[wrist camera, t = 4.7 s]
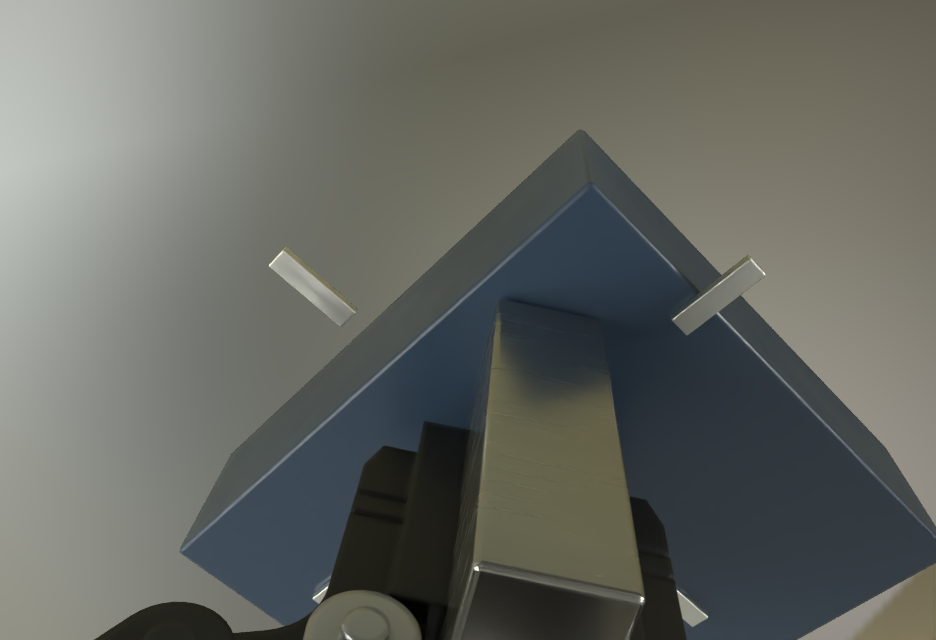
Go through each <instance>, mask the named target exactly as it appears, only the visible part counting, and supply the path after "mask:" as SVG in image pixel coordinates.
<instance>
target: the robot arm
mask: <svg viewBox="0 0 936 640" xmlns="http://www.w3.org/2000/svg"><path fill="white" fill-rule="evenodd" d="M468 433H469V430H468V429H464V428H459V427H454V426H449V425H444V424H440V423H435V422H430V421H425V420H424V423H423V428H422V433H421V437H420V442H419V447H418V451H417V452H413V451H409V450H404V449H399V448H394V447H389V446H383V447H382V448H381V449H380V450H379V451H377V452H376V453H375V454H374V455H373V456H372V457H371V458H370V459H369V460H368V461H367V462H366V463H365V464H364V467H363V470H362V473H361V477H360V480H359V484H358V487H357V491H356V494H355V497H354V501H353V504H352V508H351V512H350V514H349V518H348V521H347V525H346V528H345V531H344V535H343V538H342V542H341V545H340V548H339V552H338V555H337V559H336V562H335V565H334V569H333V572H332V576H331V579H330V582H329V586H328V589H327V591H326V594H325V596H324V598H323V599H322V601H321V602H320V604H319V605H318V606H317V607H316V608H315V609H314V610H313V611H312V612H311V613H309V614H308V615H307V616H305V617H304V618H302V619H300V620H299V621H297V622H295V623H292V624H290V625H288V626H284V627H281V628H277V629H271V630H264V631H253V632H241V633H232V630H231V628H230V627H229V625H228V624H227V622H226V621H225V620H224V619H223V618H222V617H221V616H220V615H219V614H217V613H216V612H214V611H213V610H211V609H209V608H206V607H204V606H201V605H198V604H194V603H187V602H170V603H162V604H158V605H154V606H150V607H148V608H145V609H143V610H140V611H138V612H137V613H135V614H133V615H131V616H130V617H128V618H127V619H125V620H124V621H122V622H121V623H119V624H118V625H116V626H115V627H113V628H111V629H110V630H108V631H107V632H105V633H104V634H102V635H101V636H99V637H98V638H96V639H95V640H438V637H439V634H440V630H441V626H442V622H443V618H444V615H445V611H446V607H447V601H448V593H449V585H450V577H451V569H452V561H453V553H454V545H455V537H456V529H457V521H458V513H459V505H460V497H461V489H462V481H463V473H464V465H465V457H466V449H467V441H468ZM630 503H631V509H632V515H633V522H634V528H635V534H636V541H637V547H638V553H639V560H640V566H641V572H642V579H643V585H644V592H645V598H646V602H645V604H644V607H643V609H642V611H641V614H640V616H639V619H638V621H637V623H636V626H635V628H634V630H633V633H632V635H631V638H630V640H687V639H686V634H685V629H684V624H683V619H682V614H681V609H680V604H679V599H678V594H677V589H676V584H675V580H673V575H674V574H673V569H672V564H671V559H670V557H669V549H668V543H667V538H666V533H665V528H664V525H663V524H662V522H661V521H660V519H659V518H658V516H657V515H656V513H655V512H654V510H653V509H652V508H651V506H650V505H649V503H648V502H647V500H645V499H640V498H635V497H631V496H630Z"/></svg>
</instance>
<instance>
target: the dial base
mask: <svg viewBox="0 0 936 640" xmlns="http://www.w3.org/2000/svg"><path fill="white" fill-rule="evenodd" d="M269 267H270V268H272V269H273V270H274V271H275V272H276V273H278V274H279V275H280V276H281V277H282V278H283V279H285V280H286V281H287V282H288V283H289V284H290V285H292V286H293V287H294V288H295V289H296V290H297V291H299V292H300V293H301V294H302V295H303V296H304V297H306V298H307V299H308V300H309V301H310V302H312V303H313V304H314V305H315V306H316V307H317V308H319V309H320V310H321V311H322V312H323V313H324V314H326V315H327V316H328V317H329V318H330V319H331V320H333V321H334V322H335V323H336V324H337V325H338V326H340V327H341V326H343V324H345V323H346V322H347V321H348V320H349V319H350V318H351V317H352V316H353V315H354V314H355V313H356V310H357V308H356V307H355V306H354V305H353V304H352V303H350V302H349V301H348V300H347V299H346V298H345V297H343V296H342V295H341V294H340V293H339V292H338V291H336V290H335V289H334V288H333V287H332V286H331V285H330V284H328V283H327V282H326V281H325V280H324V279H323V278H322V277H320V276H319V275H318V274H317V273H316V272H315V271H313V270H312V269H311V268H310V267H309V266H308V265H306V264H305V263H304V262H303V261H302V260H301V259H300V258H298V257H297V256H296V255H295V254H294V253H293V252H292V251H290V250H289V249H288V248H287V247H285V248H284V249H283V250H282V251H281V252H280V253H279V254H278V255H277V256H276V257H275V258H274V259H273V260H272V262H271V263H270V264H269ZM765 276H766V275H765V273H764V271H763V270H762V269H761V268H760V267H759V266H758V265H757V263H756V262H755V261H754V260H753V259H752V258H751V257H750V256H749V255H748V256H746V257H745V258H743V259H742V260H741V261H740V262H738V263H737V264H736V265H735V266H733V267H732V268H731V269H729V270H728V271H727V272H726V273H724V274H723V275H721V274H720V273H719V272H718V271H717V270H716V269H715V268H714V267H713V266H712V265H711V264H710V263H709V262H708V261H707V260H706V258H705V257H704V256H703V255H702V254H701V253H700V252H699V251H698V250H697V249H696V248H695V247H694V246H693V245H692V244H691V243H690V242H689V241H688V240H687V239H686V238H685V236H684V235H683V234H682V233H681V232H680V231H679V230H678V229H677V228H676V227H675V226H674V225H673V224H672V223H671V222H670V221H669V220H668V219H667V218H666V216H665V215H664V214H663V213H662V212H661V211H660V210H659V209H658V208H657V207H656V206H655V205H654V204H653V203H652V202H651V201H650V200H649V199H648V197H646V195H645V194H644V193H643V192H642V191H641V190H640V189H639V188H638V187H637V186H636V185H635V184H634V183H633V182H632V181H631V180H630V179H629V178H628V177H627V175H626V174H625V173H624V172H623V171H622V170H621V169H620V168H619V167H618V166H617V165H616V164H615V163H614V162H613V161H612V160H611V159H610V158H609V156H608V155H607V154H606V153H605V152H604V151H603V150H602V149H601V148H600V147H599V146H598V145H597V144H596V143H595V142H594V141H593V140H592V139H591V138H590V137H589V135H588V134H587V133H586V132H585V131H583V130H578V131H577V132H576V133H575V134H573V135H572V136H571V137H570V138H569V139H568V140H567V141H566V142H565V143H564V144H563V145H562V146H561V147H560V148H558V149H557V151H555V152H554V153H553V154H552V155H551V156H550V157H549V158H548V159H547V160H546V161H545V162H544V163H542V164H541V165H540V166H539V167H538V168H537V169H536V170H535V171H534V172H533V173H532V174H531V175H530V176H528V177H527V178H526V179H525V180H524V181H523V182H522V183H521V184H520V185H519V186H518V187H517V188H516V189H515V190H513V191H512V192H511V193H510V194H509V195H508V196H507V197H506V198H505V199H504V200H503V201H502V202H501V203H500V204H498V205H497V206H496V207H495V208H494V209H493V210H492V211H491V212H490V213H489V214H488V215H487V216H486V217H485V218H483V219H482V221H480V222H479V223H478V224H477V225H476V226H475V227H474V228H473V229H472V230H471V231H470V232H468V233H467V234H466V235H465V236H464V237H463V238H462V239H461V240H460V241H459V242H458V243H457V244H456V245H455V246H454V247H452V248H451V249H450V250H449V251H448V252H447V253H446V254H445V255H444V256H443V257H442V258H441V259H440V260H438V262H436V263H435V264H434V265H433V266H432V267H431V268H430V269H429V270H428V271H427V272H426V273H425V274H423V275H422V276H421V277H420V278H419V279H418V280H417V281H416V282H415V283H414V284H413V285H412V286H411V287H410V288H409V289H408V290H406V291H405V292H404V293H403V294H402V295H401V296H400V297H399V298H398V299H397V300H396V301H395V302H394V303H393V304H391V305H390V306H389V307H388V308H387V309H386V310H385V311H384V312H383V313H382V314H381V315H380V316H379V317H378V318H376V319H375V320H374V321H373V322H372V323H371V324H370V325H369V326H368V327H367V328H366V329H365V330H364V331H363V332H361V333H360V334H359V335H358V336H357V337H356V338H355V339H354V340H353V341H352V342H351V343H350V344H349V345H347V346H346V347H345V348H344V349H343V350H342V351H341V352H340V353H339V354H338V355H337V356H336V357H335V358H334V359H332V361H330V362H329V363H328V364H327V365H326V366H325V367H324V368H323V369H322V370H321V371H320V372H319V373H318V374H316V375H315V376H314V377H313V378H312V379H311V380H310V381H309V382H308V383H307V384H306V385H305V386H304V387H303V388H301V389H300V390H299V391H298V392H297V393H296V394H295V395H294V396H293V397H292V398H291V399H290V400H289V401H288V402H287V403H286V404H284V405H283V406H282V407H281V408H280V409H279V410H278V411H277V412H276V413H275V414H274V415H273V416H271V417H270V418H269V419H268V420H267V421H266V422H265V423H264V424H263V425H262V426H261V427H260V428H259V429H257V430H256V431H255V432H254V433H253V434H252V435H251V436H250V437H249V438H248V439H247V440H246V441H245V442H244V443H243V444H241V445H240V446H239V447H238V448H237V449H236V450H235V451H234V452H233V453H232V454H231V456H230V457H229V459H228V461H227V463H226V465H225V467H224V468H223V470H222V472H221V474H220V476H219V478H218V479H217V482H216V483H215V485H214V487H213V489H212V491H211V492H210V494H209V496H208V498H207V500H206V502H205V503H204V505H203V507H202V509H201V511H200V513H199V514H198V516H197V518H196V520H195V522H194V524H193V526H192V527H191V529H190V531H189V533H188V535H187V537H186V538H185V540H184V542H183V544H182V546H181V548H180V553H181V554H183V555H184V556H185V557H187V558H188V559H190V560H191V561H192V562H194V563H195V564H197V565H198V566H200V567H201V568H203V569H204V570H205V571H207V572H208V573H209V574H211V575H212V576H214V577H215V578H217V579H218V580H220V581H221V582H222V583H224V584H225V585H227V586H228V587H229V588H231V589H232V590H234V591H235V592H236V593H238V594H239V595H241V596H242V597H244V598H245V599H247V600H248V601H250V602H251V603H252V604H254V605H255V606H257V607H258V608H259V609H261V610H262V611H264V612H265V613H266V614H268V615H269V616H271V617H272V618H273V619H275V620H276V621H278V622H279V623H281V624H282V625H284V626H288V625H290V624H292V623H295V622H297V621H299V620H300V619H302V618H304V617H305V616H307V615H308V614H309V613H311V612H312V611H313V610H314V609H315V608H316V607H317V606H318V605H319V604H320V602H321V601H322V599H323V598H324V596H325V594H326V591H327V589H328V586H329V582H330V579H331V576H332V572H333V569H334V565H335V562H336V559H337V555H338V552H339V548H340V545H341V542H342V538H343V535H344V531H345V528H346V525H347V521H348V518H349V514H350V512H351V508H352V504H353V501H354V497H355V494H356V491H357V487H358V484H359V480H360V477H361V473H362V470H363V467H364V464H365V463H366V462H367V461H368V460H369V459H370V458H371V457H372V456H373V455H374V454H375V453H376V452H377V451H379V450H380V449H381V448H382V447H383V446H389V447H394V448H399V449H404V450H409V451H413V452H417V451H418V447H419V442H420V437H421V433H422V428H423V423H424V420H425V421H430V422H435V423H440V424H444V425H449V426H454V427H459V428H464V429H466V425H467V421H468V417H469V413H470V408H471V404H472V400H473V396H474V392H475V388H476V384H477V380H478V376H479V372H480V368H481V363H482V359H483V355H484V351H485V347H486V343H487V339H488V335H489V331H490V327H491V323H492V319H493V314H494V310H495V306H496V303H497V302H498V301H499V300H500V299H505V300H510V301H514V302H519V303H524V304H528V305H533V306H538V307H542V308H547V309H552V310H556V311H561V312H566V313H570V314H575V315H580V316H584V317H589V318H593V319H598V320H600V321H601V322H602V325H603V332H604V338H605V344H606V351H607V357H608V363H609V370H610V376H611V382H612V389H613V395H614V401H615V408H616V414H617V420H618V427H619V433H620V439H621V446H622V452H623V458H624V465H625V471H626V477H627V484H628V490H629V496H631V497H635V498H640V499H645V500H647V502H648V503H649V505H650V506H651V508H652V509H653V510H654V512H655V513H656V515H657V516H658V518H659V519H660V521H661V522H662V524H663V525H664V528H665V533H666V538H667V543H668V549H669V557H670V559H671V564H672V569H673V574H674V575H673V580H675V584H676V589H677V594H678V599H679V604H680V609H681V614H682V619H683V624H684V629H685V634H686V639H687V640H797V639H799V638H801V637H803V636H804V635H806V634H808V633H810V632H812V631H813V630H815V629H817V628H819V627H821V626H822V625H824V624H826V623H828V622H830V621H832V620H833V619H835V618H837V617H839V616H841V615H842V614H844V613H846V612H848V611H850V610H851V609H853V608H855V607H857V606H859V605H860V604H862V603H864V602H866V601H868V600H869V599H871V598H873V597H875V596H877V595H878V594H880V593H882V592H884V591H886V590H887V589H889V588H891V587H893V586H895V585H897V584H898V583H900V582H902V581H904V580H906V579H907V578H909V577H911V576H913V575H915V574H916V573H918V572H920V571H922V570H924V569H925V568H927V567H929V566H931V565H933V564H934V563H936V526H935V525H934V523H933V522H932V520H931V518H930V517H929V515H928V514H927V512H926V510H925V509H924V507H923V506H922V504H921V503H920V501H919V500H918V498H917V496H916V495H915V493H914V492H913V490H912V488H911V487H910V485H909V484H908V482H907V481H906V479H905V477H904V476H903V474H902V473H901V471H900V470H899V468H898V467H897V465H896V463H895V462H894V460H893V459H892V457H891V456H890V454H889V452H888V451H887V449H886V448H885V447H884V446H883V445H882V444H881V443H880V441H879V440H878V439H877V438H876V437H875V436H874V435H873V434H872V433H871V432H870V431H869V430H868V429H867V428H866V427H865V426H864V425H863V423H861V422H860V420H859V419H858V418H857V417H856V416H855V415H854V414H853V413H852V412H851V411H850V410H849V409H848V408H847V407H846V406H845V405H844V404H843V402H842V401H841V400H840V399H839V398H838V397H837V396H836V395H835V394H834V393H833V392H832V391H831V390H830V389H829V388H828V387H827V386H826V385H825V384H824V382H822V380H821V379H820V378H819V377H818V376H817V375H816V374H815V373H814V372H813V371H812V370H811V369H810V368H809V367H808V366H807V365H806V364H805V363H804V361H803V360H802V359H801V358H800V357H799V356H798V355H797V354H796V353H795V352H794V351H793V350H792V349H791V348H790V347H789V346H788V345H787V344H786V343H785V342H784V341H783V339H782V338H781V337H779V335H778V334H777V333H776V332H775V331H774V330H773V329H772V328H771V327H770V326H769V325H768V324H767V323H766V322H765V320H763V318H762V317H761V316H760V315H759V314H758V313H757V312H756V311H755V310H754V309H753V308H752V307H751V306H750V305H749V304H748V303H747V302H746V301H745V299H744V298H743V297H742V296H741V294H742V293H744V292H745V291H746V290H748V289H749V288H750V287H752V286H753V285H754V284H756V283H757V282H758V281H760V280H761V279H762V278H763V277H765Z"/></svg>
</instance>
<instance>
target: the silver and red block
mask: <svg viewBox="0 0 936 640" xmlns="http://www.w3.org/2000/svg"><path fill="white" fill-rule="evenodd" d="M466 429H468V430H469V433H468V441H467V449H466V457H465V465H464V473H463V481H462V489H461V497H460V505H459V513H458V521H457V529H456V537H455V545H454V553H453V561H452V569H451V577H450V585H449V593H448V601H447V607H446V611H445V615H444V618H443V622H442V626H441V630H440V634H439V637H438V640H630V638H631V635H632V633H633V630H634V628H635V626H636V623H637V621H638V619H639V616H640V614H641V611H642V609H643V607H644V604H645V602H646V598H645V592H644V585H643V579H642V572H641V566H640V560H639V553H638V547H637V541H636V534H635V528H634V522H633V515H632V509H631V503H630V496H629V490H628V484H627V477H626V471H625V465H624V458H623V452H622V446H621V439H620V433H619V427H618V420H617V414H616V408H615V401H614V395H613V389H612V382H611V376H610V370H609V363H608V357H607V351H606V344H605V338H604V332H603V325H602V322H601V321H600V320H598V319H593V318H589V317H584V316H580V315H575V314H570V313H566V312H561V311H556V310H552V309H547V308H542V307H538V306H533V305H528V304H524V303H519V302H514V301H510V300H505V299H500V300H499V301H498V302H497V303H496V306H495V310H494V314H493V319H492V323H491V327H490V331H489V335H488V339H487V343H486V347H485V351H484V355H483V359H482V363H481V368H480V372H479V376H478V380H477V384H476V388H475V392H474V396H473V400H472V404H471V408H470V413H469V417H468V421H467V425H466Z"/></svg>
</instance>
